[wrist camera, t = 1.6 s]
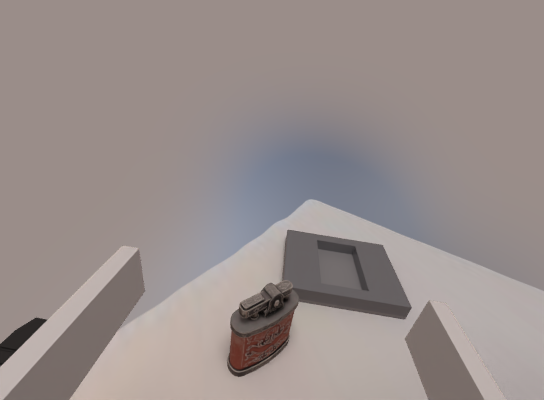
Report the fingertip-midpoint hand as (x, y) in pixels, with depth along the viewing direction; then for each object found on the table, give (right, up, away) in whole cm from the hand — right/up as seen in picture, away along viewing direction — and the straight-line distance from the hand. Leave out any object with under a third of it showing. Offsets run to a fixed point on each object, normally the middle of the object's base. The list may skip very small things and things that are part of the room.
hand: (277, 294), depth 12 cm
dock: (+11, -8, +31) cm, 34 cm away
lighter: (-2, -14, +18) cm, 23 cm away
